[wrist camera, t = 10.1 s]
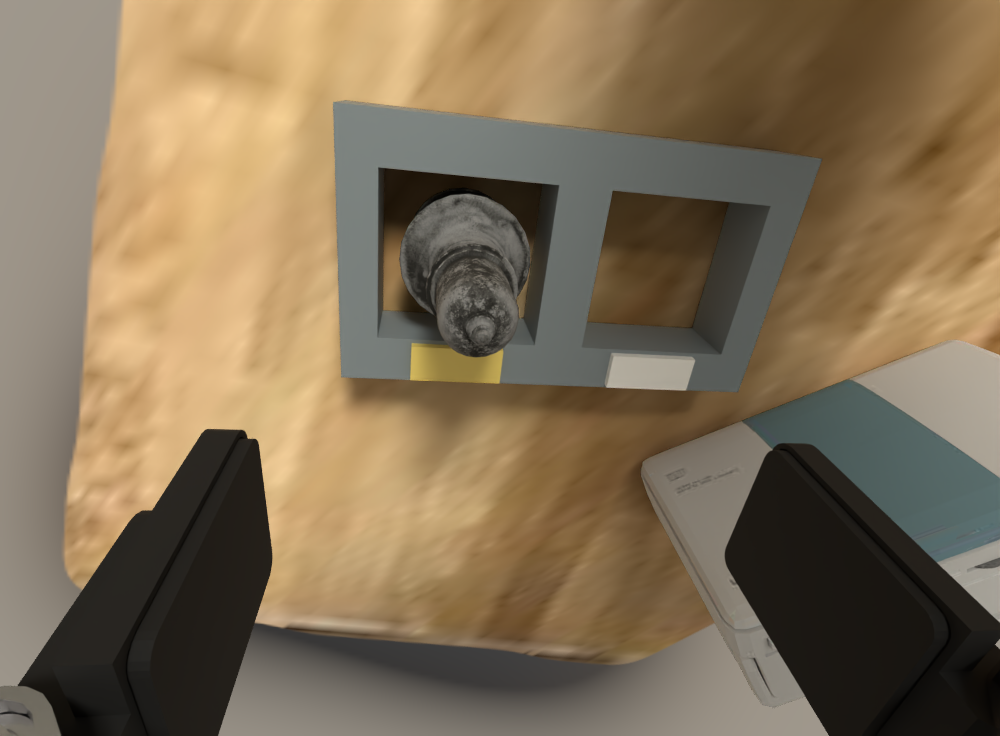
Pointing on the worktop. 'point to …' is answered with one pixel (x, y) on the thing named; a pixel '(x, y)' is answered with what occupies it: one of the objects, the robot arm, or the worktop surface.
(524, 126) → the socket board
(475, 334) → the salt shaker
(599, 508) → the worktop surface
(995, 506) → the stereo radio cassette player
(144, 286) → the worktop surface
